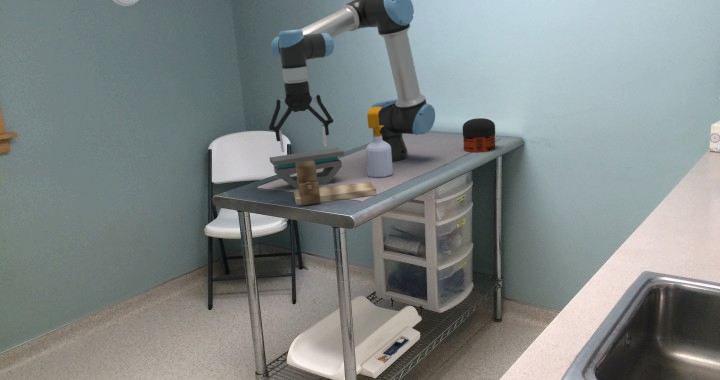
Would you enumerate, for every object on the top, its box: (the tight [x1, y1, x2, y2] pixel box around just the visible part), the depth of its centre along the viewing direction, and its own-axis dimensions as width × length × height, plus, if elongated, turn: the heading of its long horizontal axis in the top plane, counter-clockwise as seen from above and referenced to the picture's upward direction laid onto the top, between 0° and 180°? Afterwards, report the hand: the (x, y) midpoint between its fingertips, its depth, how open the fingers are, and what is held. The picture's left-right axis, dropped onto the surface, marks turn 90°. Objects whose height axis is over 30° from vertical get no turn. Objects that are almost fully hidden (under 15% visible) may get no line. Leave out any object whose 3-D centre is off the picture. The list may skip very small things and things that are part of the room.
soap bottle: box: [365, 106, 393, 178], centre depth 222 cm, size 9×9×25 cm
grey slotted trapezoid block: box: [269, 147, 345, 190], centre depth 220 cm, size 25×8×11 cm, turn 108°
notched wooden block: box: [295, 160, 322, 206], centre depth 198 cm, size 6×11×12 cm, turn 10°
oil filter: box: [462, 117, 496, 154], centre depth 252 cm, size 13×12×13 cm
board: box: [293, 181, 377, 206], centre depth 203 cm, size 26×10×2 cm, turn 100°
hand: (304, 148), depth 198 cm, fingers open, 13 cm apart
